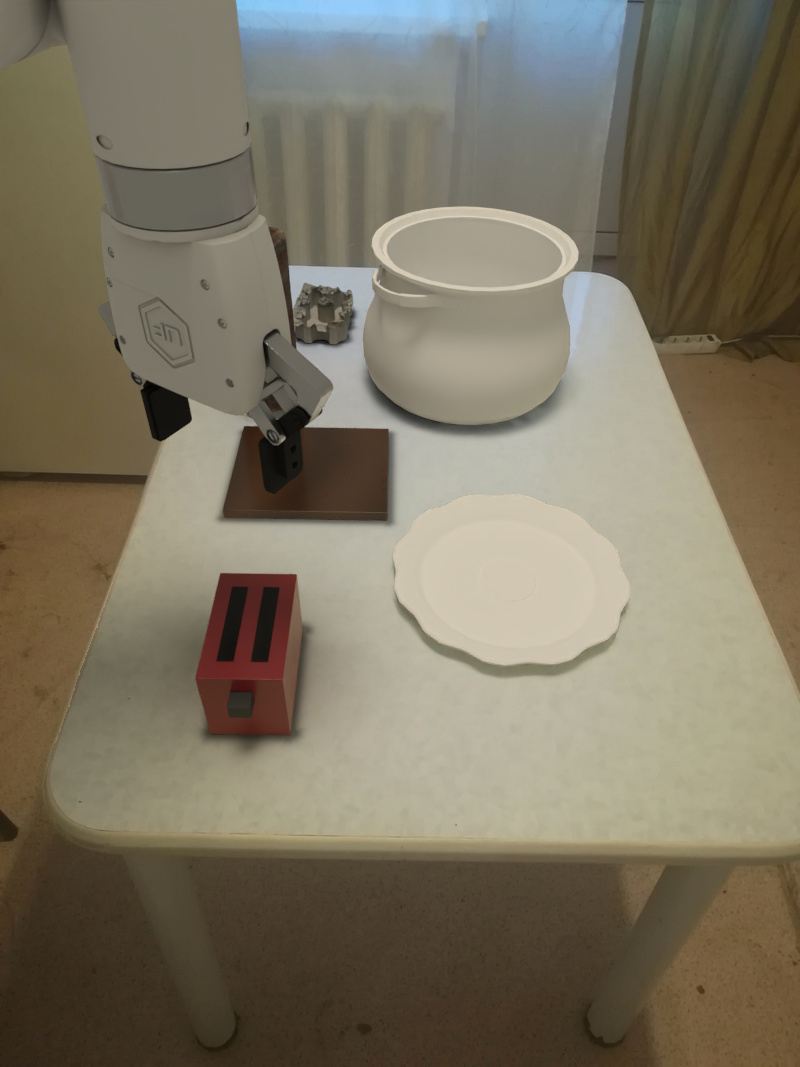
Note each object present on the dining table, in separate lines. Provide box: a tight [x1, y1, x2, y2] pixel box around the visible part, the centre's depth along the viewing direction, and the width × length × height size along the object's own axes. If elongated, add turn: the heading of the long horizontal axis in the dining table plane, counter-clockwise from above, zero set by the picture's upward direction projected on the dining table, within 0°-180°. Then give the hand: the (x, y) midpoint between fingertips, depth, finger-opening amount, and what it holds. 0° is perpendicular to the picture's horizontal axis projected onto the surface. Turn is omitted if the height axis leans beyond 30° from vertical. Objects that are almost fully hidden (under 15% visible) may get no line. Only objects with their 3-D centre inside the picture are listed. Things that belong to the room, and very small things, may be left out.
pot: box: [362, 206, 580, 426], centre depth 87 cm, size 26×24×17 cm
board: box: [222, 425, 390, 521], centre depth 78 cm, size 16×14×1 cm
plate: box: [391, 493, 631, 667], centre depth 68 cm, size 21×21×2 cm
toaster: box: [194, 572, 304, 736], centre depth 57 cm, size 6×11×7 cm, turn 0°
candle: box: [263, 226, 298, 413], centre depth 81 cm, size 8×7×20 cm
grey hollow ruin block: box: [293, 282, 354, 345], centre depth 101 cm, size 11×8×4 cm
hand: (226, 455), depth 50 cm, fingers open, 9 cm apart
